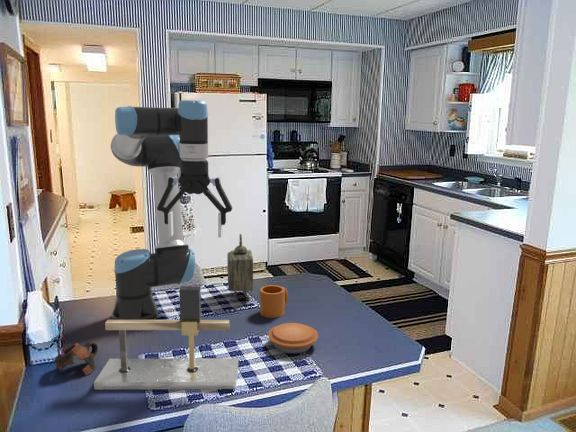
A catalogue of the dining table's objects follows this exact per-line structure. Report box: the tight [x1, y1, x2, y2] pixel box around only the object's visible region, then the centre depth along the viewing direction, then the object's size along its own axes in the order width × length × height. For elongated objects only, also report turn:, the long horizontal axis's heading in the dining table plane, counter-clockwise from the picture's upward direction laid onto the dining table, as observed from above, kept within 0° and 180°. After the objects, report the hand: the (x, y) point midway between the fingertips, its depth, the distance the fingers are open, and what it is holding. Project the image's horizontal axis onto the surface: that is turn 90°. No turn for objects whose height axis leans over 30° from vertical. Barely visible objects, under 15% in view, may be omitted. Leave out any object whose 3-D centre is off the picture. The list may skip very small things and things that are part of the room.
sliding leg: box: [179, 285, 202, 369], centre depth 123 cm, size 5×5×23 cm
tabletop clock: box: [226, 233, 254, 302], centre depth 180 cm, size 14×9×25 cm, turn 9°
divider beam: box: [104, 319, 231, 371], centre depth 123 cm, size 2×32×14 cm, turn 92°
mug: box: [259, 284, 289, 319], centre depth 168 cm, size 9×12×9 cm
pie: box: [267, 322, 319, 355], centre depth 144 cm, size 16×16×5 cm
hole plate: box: [93, 357, 240, 391], centre depth 125 cm, size 12×36×2 cm, turn 92°
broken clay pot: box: [53, 340, 99, 377], centre depth 129 cm, size 12×10×8 cm
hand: (195, 235), depth 129 cm, fingers open, 13 cm apart
